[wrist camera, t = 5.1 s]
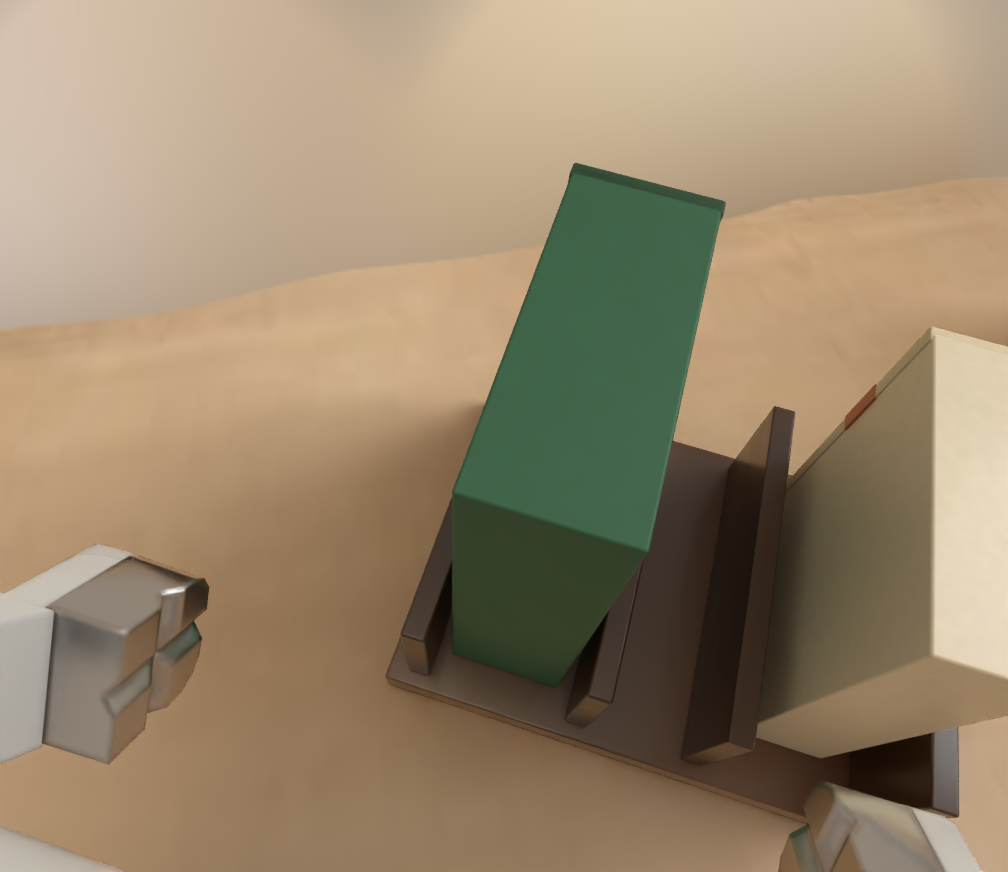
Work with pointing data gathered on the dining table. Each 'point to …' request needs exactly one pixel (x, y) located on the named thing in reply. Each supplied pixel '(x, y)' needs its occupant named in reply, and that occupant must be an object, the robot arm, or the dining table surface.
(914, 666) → the cream book
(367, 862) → the dining table surface
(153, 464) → the dining table surface
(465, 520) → the green book
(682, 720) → the book rack
